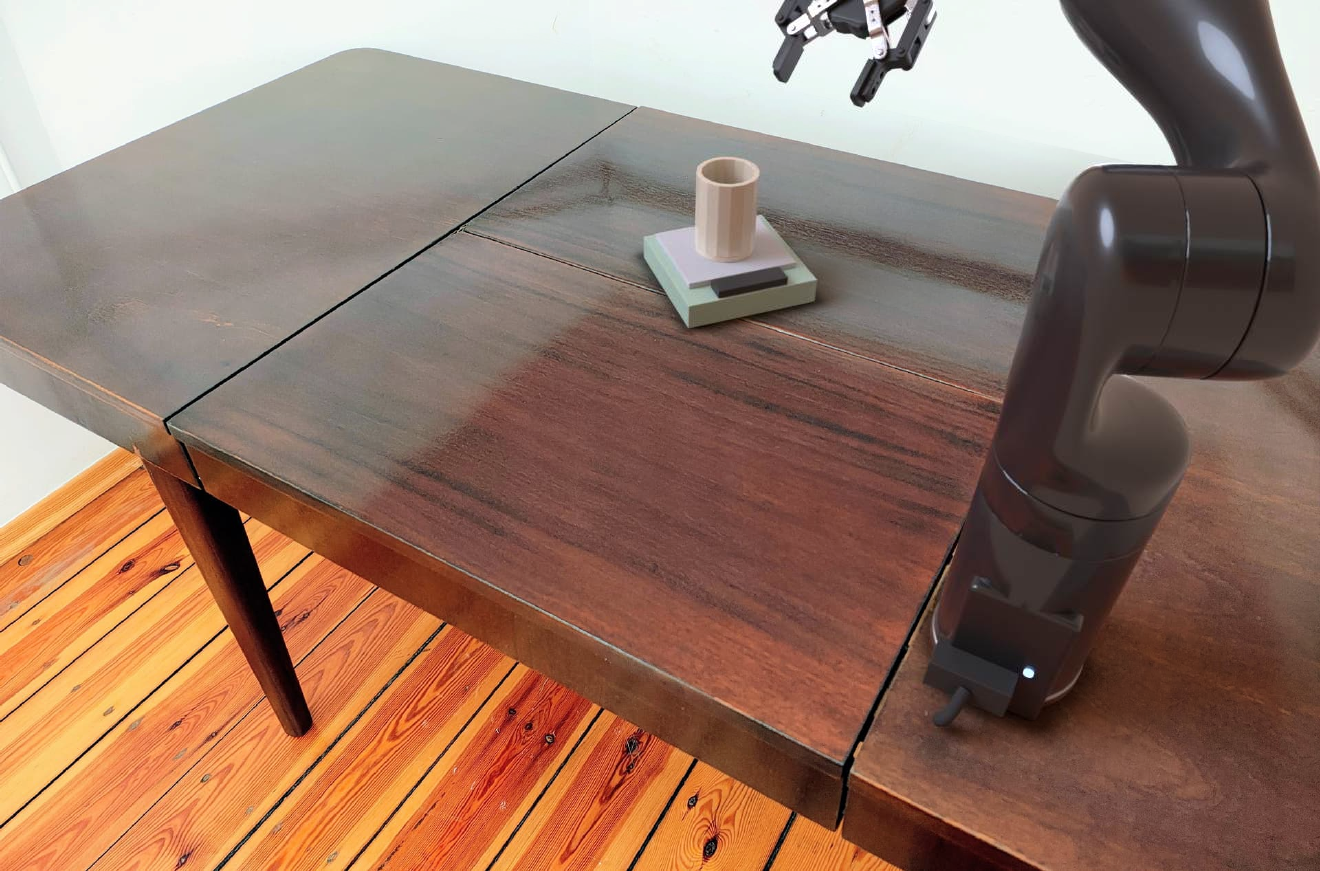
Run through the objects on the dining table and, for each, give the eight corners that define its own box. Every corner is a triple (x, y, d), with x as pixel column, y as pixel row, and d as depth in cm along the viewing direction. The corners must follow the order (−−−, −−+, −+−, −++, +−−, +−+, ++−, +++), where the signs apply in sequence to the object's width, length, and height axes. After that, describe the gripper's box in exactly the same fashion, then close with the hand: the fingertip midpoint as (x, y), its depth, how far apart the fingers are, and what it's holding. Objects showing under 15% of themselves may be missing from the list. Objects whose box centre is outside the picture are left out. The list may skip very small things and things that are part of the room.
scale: (814, 301, 90) (818, 272, 87) (688, 328, 87) (688, 299, 84) (759, 235, 99) (762, 207, 96) (643, 257, 96) (643, 229, 93)
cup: (738, 268, 88) (742, 192, 83) (684, 252, 90) (685, 177, 85) (763, 240, 92) (770, 165, 87) (711, 226, 94) (714, 151, 89)
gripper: (822, -111, 86) (739, 51, 87) (964, -85, 79) (871, 91, 80) (846, -60, 92) (769, 90, 93) (979, -32, 85) (893, 130, 86)
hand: (816, 90), depth 87 cm, fingers open, 8 cm apart
